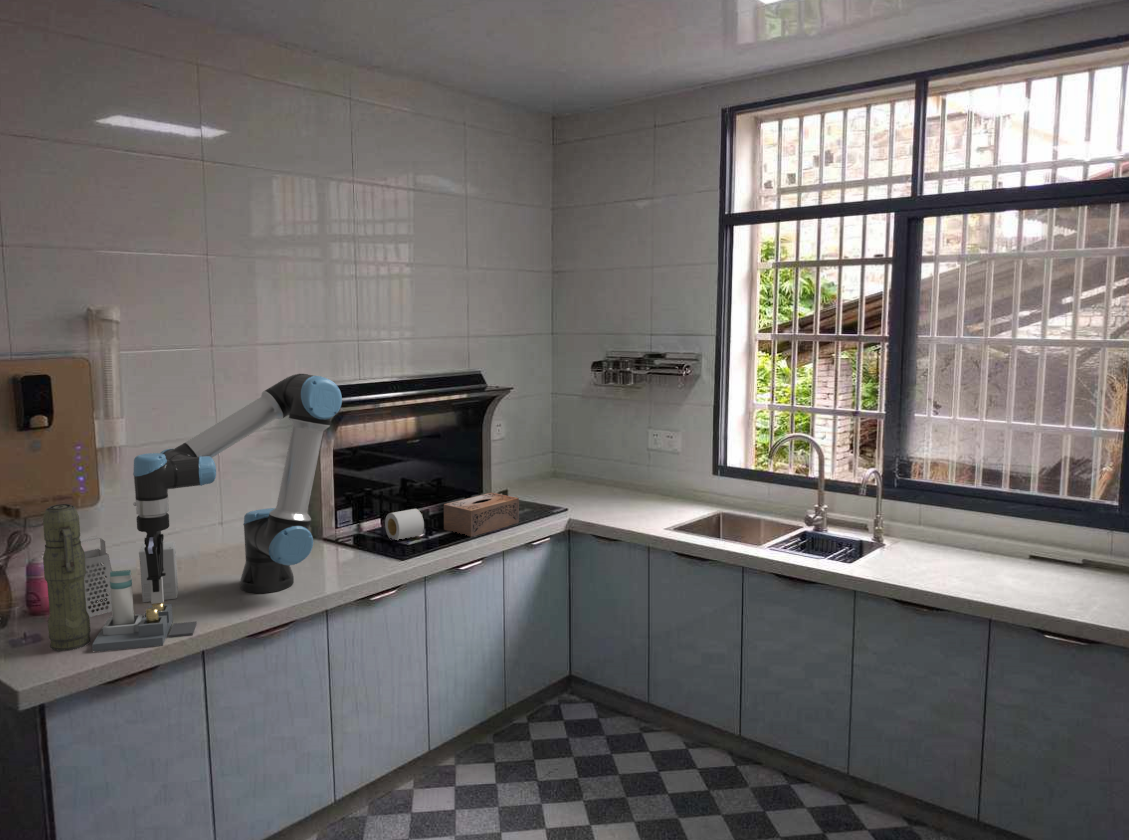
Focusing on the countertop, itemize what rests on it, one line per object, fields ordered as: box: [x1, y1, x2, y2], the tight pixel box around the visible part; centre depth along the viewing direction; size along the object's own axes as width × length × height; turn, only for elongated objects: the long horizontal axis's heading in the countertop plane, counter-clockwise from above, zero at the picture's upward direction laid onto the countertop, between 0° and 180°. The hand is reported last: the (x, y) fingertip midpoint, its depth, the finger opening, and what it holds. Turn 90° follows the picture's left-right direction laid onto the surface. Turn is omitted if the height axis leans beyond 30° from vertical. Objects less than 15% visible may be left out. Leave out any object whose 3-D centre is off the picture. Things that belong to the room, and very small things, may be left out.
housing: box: [91, 603, 174, 652], centre depth 215 cm, size 16×16×5 cm
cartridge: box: [110, 569, 135, 626], centre depth 214 cm, size 5×5×15 cm
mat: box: [168, 621, 198, 638], centre depth 219 cm, size 6×8×1 cm
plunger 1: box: [151, 601, 165, 611], centre depth 220 cm, size 3×3×4 cm
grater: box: [80, 535, 113, 618], centre depth 231 cm, size 10×10×20 cm
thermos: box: [42, 503, 91, 652], centre depth 207 cm, size 9×12×35 cm
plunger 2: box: [145, 607, 159, 624], centre depth 212 cm, size 3×3×4 cm
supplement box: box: [138, 540, 179, 603], centre depth 243 cm, size 9×9×15 cm
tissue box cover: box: [443, 492, 520, 538], centre depth 321 cm, size 26×14×10 cm, turn 141°
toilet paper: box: [384, 508, 425, 541], centre depth 304 cm, size 10×10×10 cm
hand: (157, 602), depth 220 cm, fingers closed
